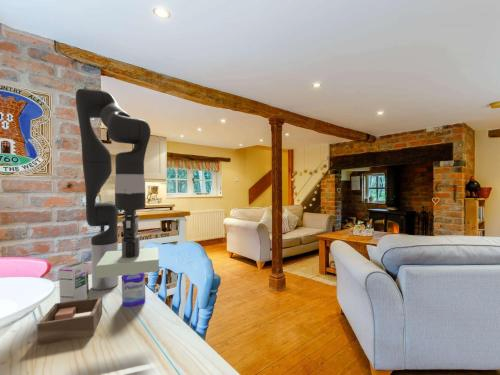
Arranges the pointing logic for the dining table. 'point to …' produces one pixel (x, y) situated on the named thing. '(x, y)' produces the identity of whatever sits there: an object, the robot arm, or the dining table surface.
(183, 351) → the dining table surface
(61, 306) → the box
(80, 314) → the cream cube
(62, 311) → the terracotta cube
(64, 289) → the syrup box
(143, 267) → the lid
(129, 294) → the bottle
